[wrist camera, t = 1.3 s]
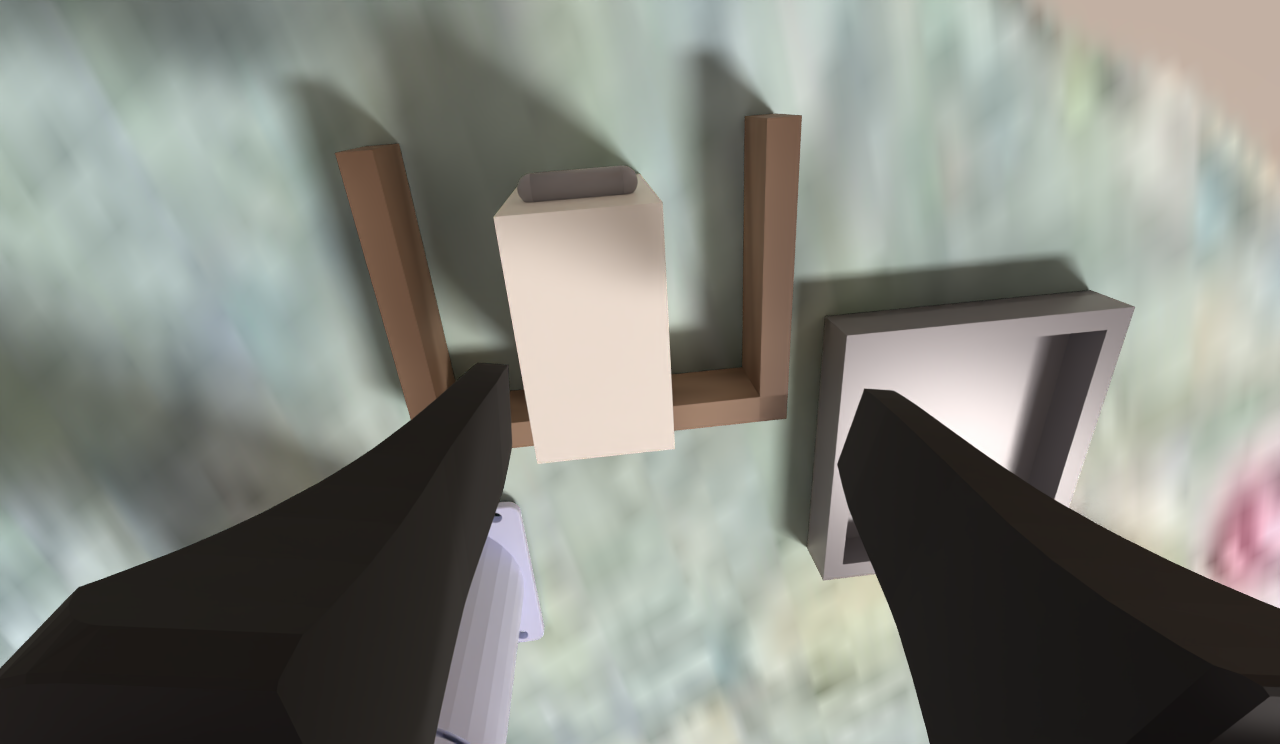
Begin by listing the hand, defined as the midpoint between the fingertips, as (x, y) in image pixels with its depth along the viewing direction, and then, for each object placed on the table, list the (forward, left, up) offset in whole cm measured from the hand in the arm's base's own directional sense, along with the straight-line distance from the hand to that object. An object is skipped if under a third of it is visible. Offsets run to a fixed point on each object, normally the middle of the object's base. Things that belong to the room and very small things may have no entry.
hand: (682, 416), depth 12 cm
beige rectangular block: (-2, 0, -10) cm, 10 cm away
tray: (+12, -8, -10) cm, 17 cm away
